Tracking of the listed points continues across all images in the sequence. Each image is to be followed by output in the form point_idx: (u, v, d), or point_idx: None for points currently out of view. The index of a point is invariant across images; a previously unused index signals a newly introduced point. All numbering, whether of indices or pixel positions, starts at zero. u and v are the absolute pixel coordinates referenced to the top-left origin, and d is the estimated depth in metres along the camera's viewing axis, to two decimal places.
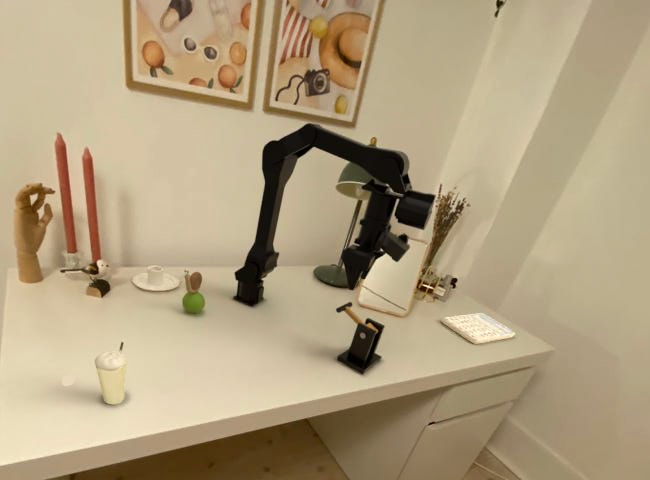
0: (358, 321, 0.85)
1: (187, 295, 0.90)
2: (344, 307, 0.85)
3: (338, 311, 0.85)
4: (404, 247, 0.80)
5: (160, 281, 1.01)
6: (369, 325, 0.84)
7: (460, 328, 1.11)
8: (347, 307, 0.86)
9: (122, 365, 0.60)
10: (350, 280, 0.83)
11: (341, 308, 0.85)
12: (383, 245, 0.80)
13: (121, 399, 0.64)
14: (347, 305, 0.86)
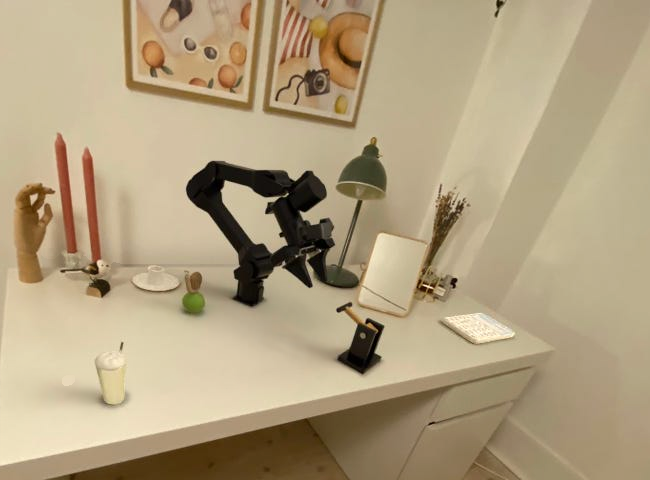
0: (358, 321, 0.85)
1: (187, 295, 0.90)
2: (344, 307, 0.85)
3: (338, 311, 0.85)
4: None
5: (160, 281, 1.01)
6: (369, 325, 0.84)
7: (460, 328, 1.11)
8: (347, 307, 0.86)
9: (122, 365, 0.60)
10: (302, 279, 0.86)
11: (341, 308, 0.85)
12: (303, 235, 0.83)
13: (121, 399, 0.64)
14: (347, 305, 0.86)
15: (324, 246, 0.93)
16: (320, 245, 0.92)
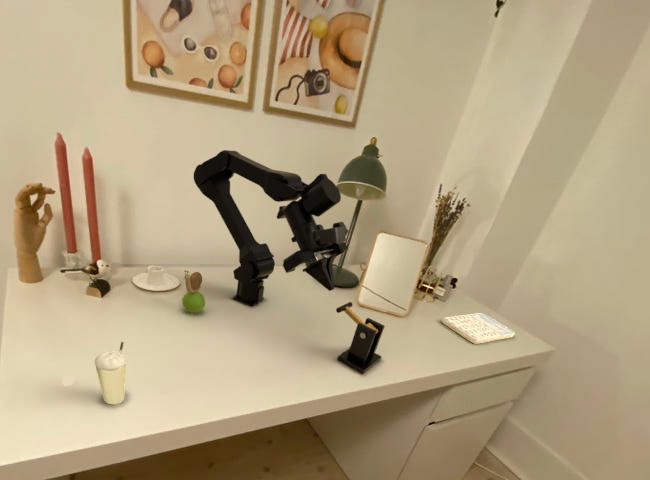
0: (358, 321, 0.85)
1: (187, 295, 0.90)
2: (344, 307, 0.85)
3: (338, 311, 0.85)
4: None
5: (160, 281, 1.01)
6: (369, 325, 0.84)
7: (460, 328, 1.11)
8: (347, 307, 0.86)
9: (122, 365, 0.60)
10: (323, 282, 0.86)
11: (341, 308, 0.85)
12: (316, 239, 0.82)
13: (121, 399, 0.64)
14: (347, 305, 0.86)
15: (337, 250, 0.92)
16: (333, 249, 0.91)
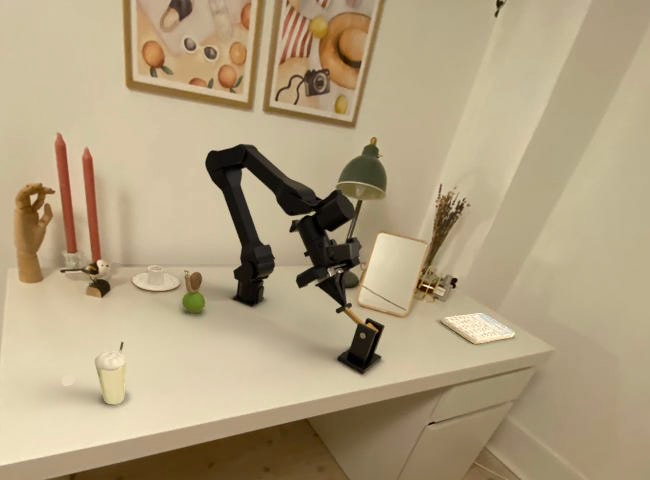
0: (358, 321, 0.85)
1: (187, 295, 0.90)
2: (343, 308, 0.86)
3: (338, 312, 0.85)
4: (348, 243, 0.79)
5: (160, 281, 1.01)
6: (369, 325, 0.84)
7: (460, 328, 1.11)
8: (346, 308, 0.86)
9: (122, 365, 0.60)
10: (335, 297, 0.86)
11: (340, 309, 0.85)
12: (330, 255, 0.81)
13: (121, 399, 0.64)
14: (346, 306, 0.87)
15: (349, 264, 0.91)
16: None
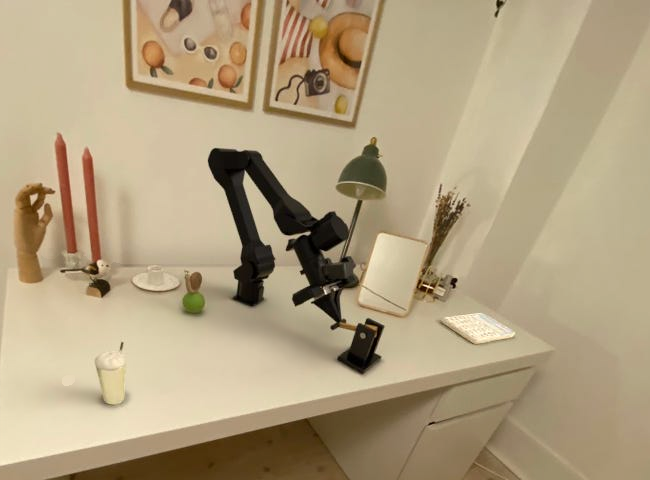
0: (355, 328, 0.86)
1: (187, 295, 0.90)
2: (337, 323, 0.88)
3: (333, 328, 0.87)
4: (342, 263, 0.82)
5: (160, 281, 1.01)
6: (366, 325, 0.85)
7: (460, 328, 1.11)
8: (340, 322, 0.89)
9: (122, 365, 0.60)
10: (331, 314, 0.88)
11: (334, 325, 0.87)
12: (325, 274, 0.83)
13: (121, 399, 0.64)
14: (340, 321, 0.89)
15: (344, 281, 0.93)
16: (340, 281, 0.92)
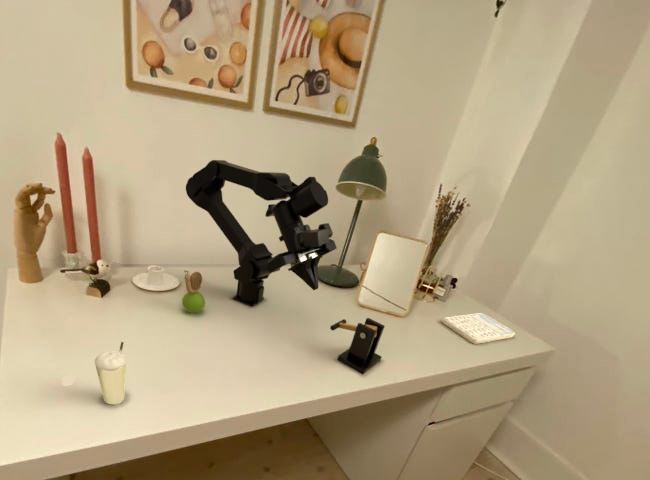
0: (355, 328, 0.86)
1: (187, 295, 0.90)
2: (337, 323, 0.88)
3: (333, 328, 0.87)
4: (316, 231, 0.82)
5: (160, 281, 1.01)
6: (366, 325, 0.85)
7: (460, 328, 1.11)
8: (340, 323, 0.89)
9: (122, 365, 0.60)
10: (307, 281, 0.90)
11: (334, 325, 0.87)
12: (300, 242, 0.84)
13: (121, 399, 0.64)
14: (340, 322, 0.89)
15: (326, 248, 0.93)
16: (321, 248, 0.93)
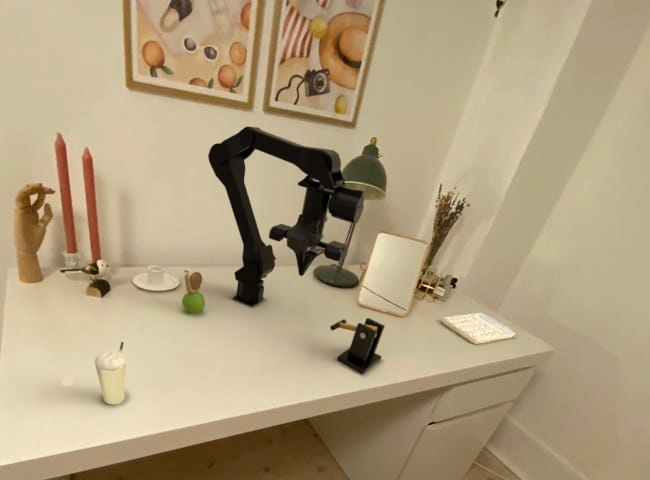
0: (355, 328, 0.86)
1: (187, 295, 0.90)
2: (337, 323, 0.88)
3: (333, 328, 0.87)
4: (292, 234, 0.82)
5: (160, 281, 1.01)
6: (366, 325, 0.85)
7: (460, 328, 1.11)
8: (340, 323, 0.89)
9: (122, 365, 0.60)
10: None
11: (334, 325, 0.87)
12: None
13: (121, 399, 0.64)
14: (340, 322, 0.89)
15: None
16: None
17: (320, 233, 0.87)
